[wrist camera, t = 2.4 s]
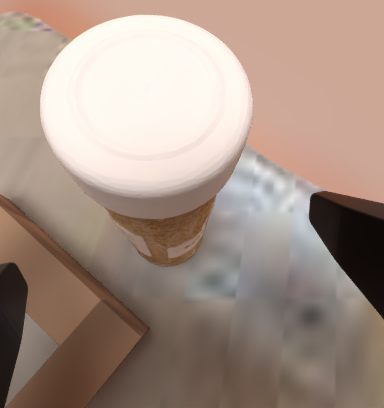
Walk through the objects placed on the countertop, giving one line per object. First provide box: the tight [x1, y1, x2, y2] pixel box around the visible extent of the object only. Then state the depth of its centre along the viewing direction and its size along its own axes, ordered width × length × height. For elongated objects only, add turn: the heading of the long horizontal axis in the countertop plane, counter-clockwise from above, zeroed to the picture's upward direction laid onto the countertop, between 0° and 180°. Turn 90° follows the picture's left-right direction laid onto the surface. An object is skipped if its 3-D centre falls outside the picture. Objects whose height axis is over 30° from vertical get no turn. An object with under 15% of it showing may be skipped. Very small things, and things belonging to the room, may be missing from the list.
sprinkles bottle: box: [40, 15, 253, 266], centre depth 12 cm, size 5×5×14 cm
